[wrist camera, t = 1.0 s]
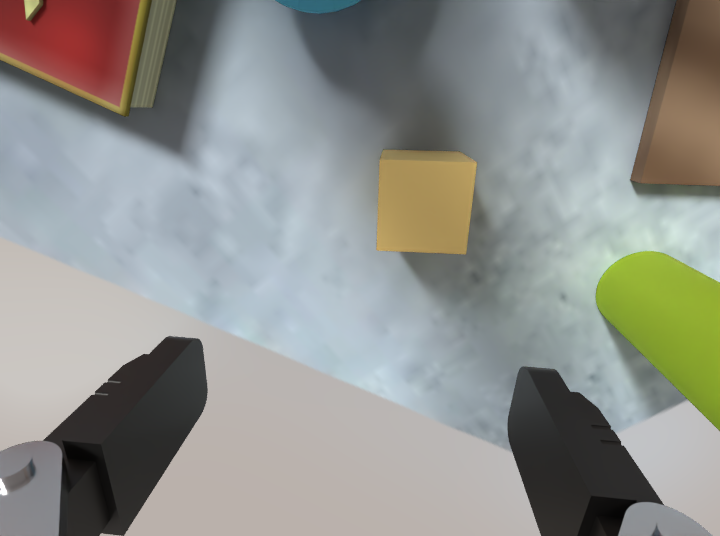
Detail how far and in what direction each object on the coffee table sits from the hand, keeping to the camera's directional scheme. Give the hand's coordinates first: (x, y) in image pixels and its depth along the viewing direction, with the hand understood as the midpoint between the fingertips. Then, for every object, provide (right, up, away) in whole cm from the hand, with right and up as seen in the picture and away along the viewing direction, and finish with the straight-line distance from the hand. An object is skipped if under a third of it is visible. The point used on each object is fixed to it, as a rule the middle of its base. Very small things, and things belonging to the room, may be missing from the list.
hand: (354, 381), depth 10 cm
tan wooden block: (+4, +8, +17) cm, 20 cm away
